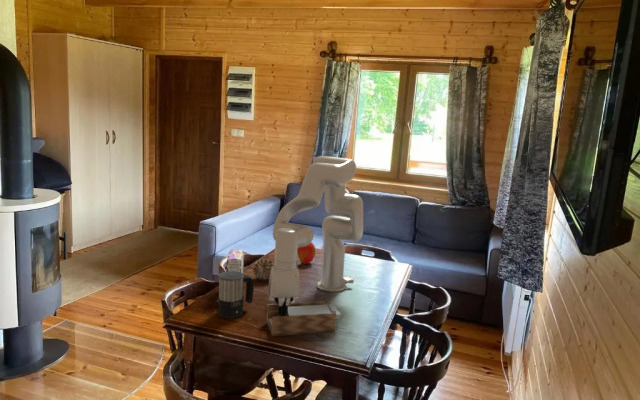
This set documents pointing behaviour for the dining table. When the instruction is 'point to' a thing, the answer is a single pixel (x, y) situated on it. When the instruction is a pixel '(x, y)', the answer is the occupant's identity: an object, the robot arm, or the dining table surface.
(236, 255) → the candy box
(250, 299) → the milk frother
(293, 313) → the cover plate
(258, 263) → the pine cone
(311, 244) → the apple
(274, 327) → the walnut box
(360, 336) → the dining table surface
